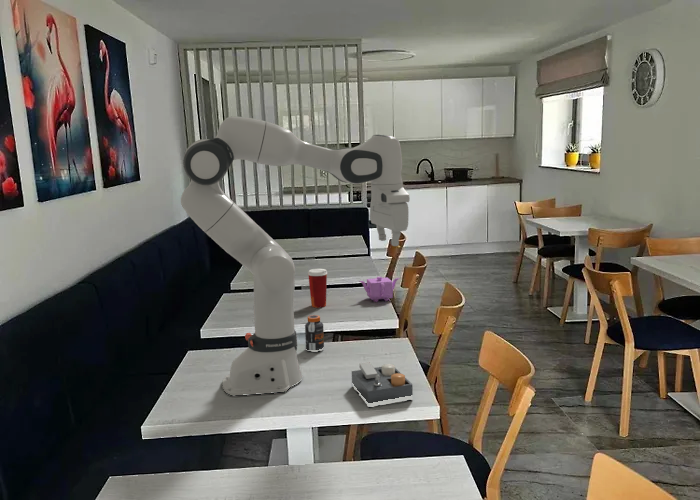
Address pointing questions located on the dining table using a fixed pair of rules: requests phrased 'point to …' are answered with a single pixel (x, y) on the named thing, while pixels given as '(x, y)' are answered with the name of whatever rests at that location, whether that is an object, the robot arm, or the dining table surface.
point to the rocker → (368, 370)
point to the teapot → (379, 288)
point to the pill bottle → (314, 333)
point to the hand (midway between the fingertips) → (388, 243)
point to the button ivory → (388, 369)
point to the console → (380, 386)
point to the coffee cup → (318, 287)
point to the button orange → (397, 379)
